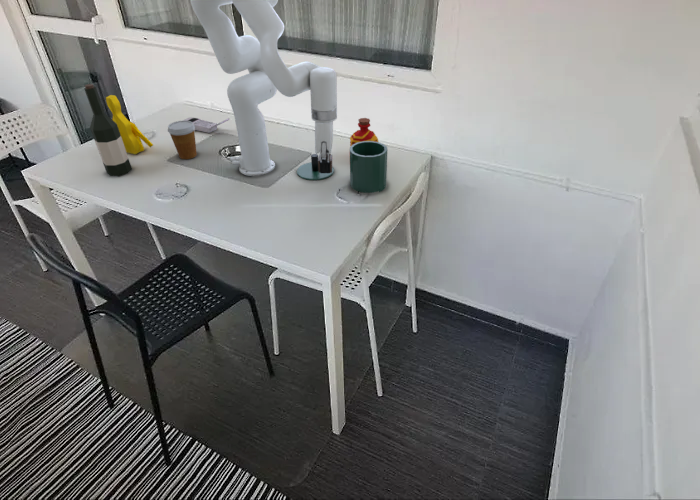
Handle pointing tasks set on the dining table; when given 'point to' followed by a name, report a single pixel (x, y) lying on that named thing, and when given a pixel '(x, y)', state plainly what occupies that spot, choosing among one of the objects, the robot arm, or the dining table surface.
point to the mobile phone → (204, 124)
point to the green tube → (368, 166)
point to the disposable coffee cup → (183, 138)
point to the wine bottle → (107, 137)
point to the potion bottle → (363, 132)
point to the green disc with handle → (312, 170)
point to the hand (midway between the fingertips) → (325, 168)
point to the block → (330, 163)
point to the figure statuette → (126, 128)
